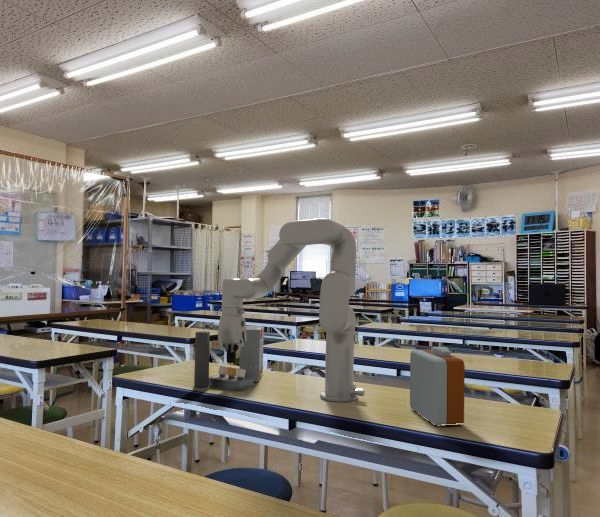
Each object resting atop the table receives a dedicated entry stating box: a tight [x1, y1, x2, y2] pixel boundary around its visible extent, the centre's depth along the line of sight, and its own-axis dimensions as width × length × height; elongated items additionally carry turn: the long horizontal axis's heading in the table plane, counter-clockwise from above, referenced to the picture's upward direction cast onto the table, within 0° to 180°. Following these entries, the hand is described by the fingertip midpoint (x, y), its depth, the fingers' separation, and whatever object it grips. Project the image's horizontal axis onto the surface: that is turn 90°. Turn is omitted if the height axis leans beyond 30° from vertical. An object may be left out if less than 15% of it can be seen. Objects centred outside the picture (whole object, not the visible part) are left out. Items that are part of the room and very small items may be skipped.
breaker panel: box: [209, 374, 254, 392], centre depth 170 cm, size 14×9×3 cm, turn 62°
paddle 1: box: [236, 367, 246, 379], centre depth 168 cm, size 2×3×4 cm, turn 151°
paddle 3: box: [217, 365, 229, 376], centre depth 172 cm, size 2×3×4 cm, turn 152°
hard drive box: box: [239, 325, 265, 383], centre depth 184 cm, size 16×8×20 cm, turn 179°
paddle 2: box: [227, 366, 237, 378], centre depth 170 cm, size 2×3×4 cm, turn 152°
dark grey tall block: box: [192, 331, 211, 392], centre depth 165 cm, size 6×6×20 cm
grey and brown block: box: [409, 346, 466, 425], centre depth 137 cm, size 18×9×21 cm, turn 9°
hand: (231, 362), depth 170 cm, fingers closed
